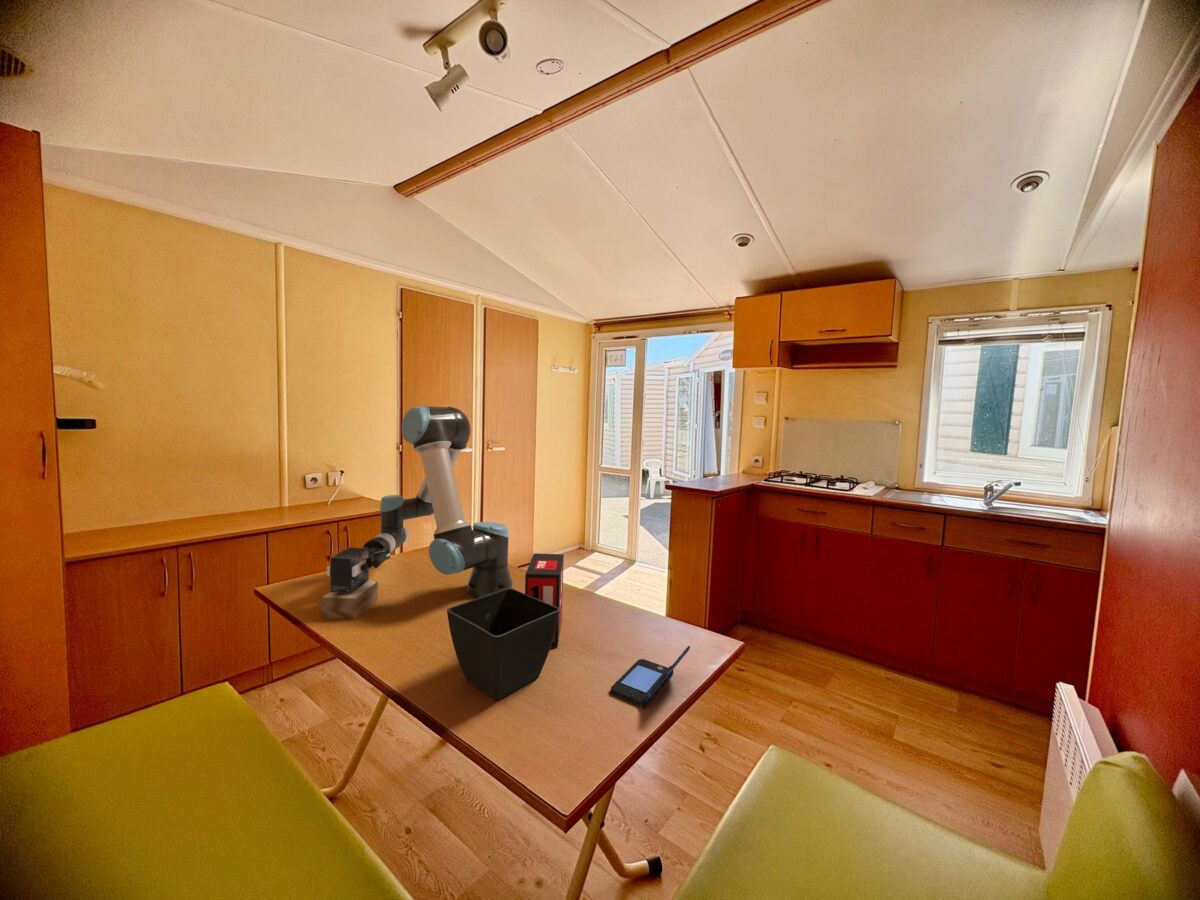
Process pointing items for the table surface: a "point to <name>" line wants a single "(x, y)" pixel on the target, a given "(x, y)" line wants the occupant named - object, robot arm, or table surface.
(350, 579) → the small box
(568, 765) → the table surface
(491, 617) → the flower pot
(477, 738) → the table surface
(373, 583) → the base
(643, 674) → the black walkie-talkie
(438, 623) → the table surface
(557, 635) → the cleaning product box
